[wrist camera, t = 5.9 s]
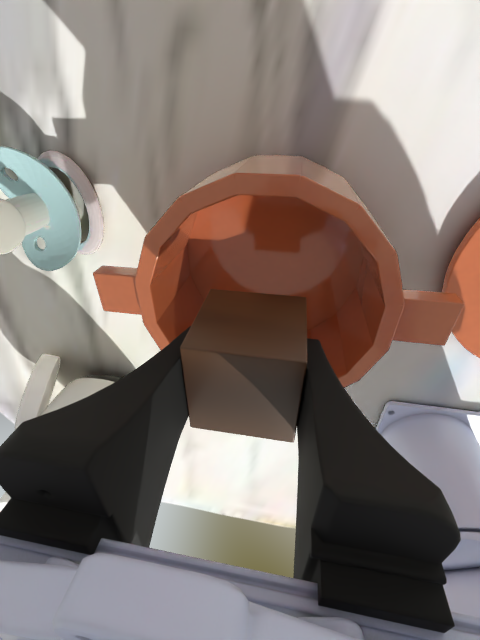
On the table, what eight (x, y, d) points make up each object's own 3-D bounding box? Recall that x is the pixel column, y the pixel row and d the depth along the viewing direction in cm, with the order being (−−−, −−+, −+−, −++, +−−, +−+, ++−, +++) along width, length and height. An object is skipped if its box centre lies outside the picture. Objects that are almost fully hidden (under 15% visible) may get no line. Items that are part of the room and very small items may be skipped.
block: (295, 369, 15) (293, 443, 11) (214, 359, 15) (190, 427, 12) (306, 296, 12) (307, 362, 9) (210, 288, 13) (178, 347, 10)
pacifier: (86, 139, 18) (-3, 144, 19) (5, 149, 13) (-113, 156, 14) (120, 257, 22) (45, 257, 23) (68, 301, 17) (-26, 299, 18)
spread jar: (163, 437, 33) (107, 566, 24) (68, 420, 35) (-21, 536, 25) (147, 352, 27) (61, 485, 17) (30, 336, 28) (-110, 450, 19)
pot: (389, 352, 22) (415, 424, 17) (156, 327, 25) (116, 384, 20) (458, 158, 15) (538, 182, 10) (123, 151, 18) (49, 166, 13)
